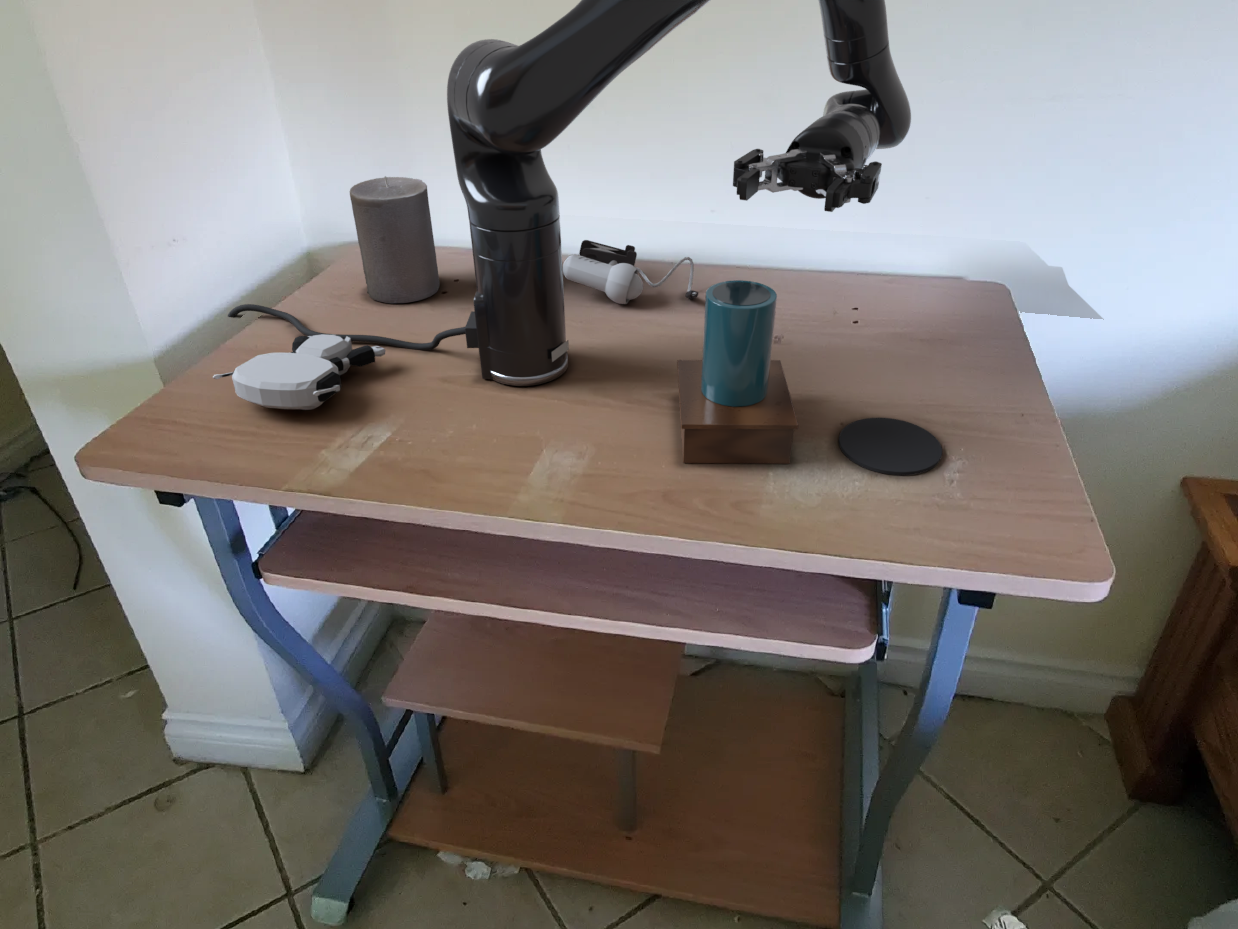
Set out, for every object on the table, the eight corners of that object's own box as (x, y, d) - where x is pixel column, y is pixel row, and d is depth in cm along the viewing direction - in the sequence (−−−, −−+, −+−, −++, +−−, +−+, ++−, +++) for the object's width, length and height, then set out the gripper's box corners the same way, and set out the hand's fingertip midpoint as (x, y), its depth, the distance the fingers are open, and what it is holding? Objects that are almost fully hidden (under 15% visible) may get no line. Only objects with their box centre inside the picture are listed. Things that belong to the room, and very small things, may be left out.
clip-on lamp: (701, 302, 118) (579, 263, 120) (714, 259, 115) (588, 219, 117) (684, 331, 108) (552, 287, 110) (698, 284, 105) (561, 240, 107)
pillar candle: (352, 293, 115) (329, 180, 106) (406, 270, 121) (388, 161, 113) (403, 310, 110) (383, 193, 102) (456, 285, 117) (442, 173, 108)
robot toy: (304, 357, 101) (216, 412, 89) (297, 321, 99) (206, 372, 87) (396, 372, 98) (318, 430, 86) (391, 334, 96) (310, 389, 84)
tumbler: (702, 407, 81) (707, 307, 75) (699, 374, 86) (703, 279, 80) (771, 407, 80) (781, 307, 75) (763, 374, 86) (772, 279, 80)
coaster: (849, 475, 79) (849, 471, 79) (830, 420, 87) (831, 417, 87) (954, 475, 79) (955, 472, 79) (926, 420, 87) (926, 417, 86)
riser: (680, 465, 81) (681, 424, 78) (676, 397, 91) (677, 359, 89) (793, 465, 80) (798, 424, 78) (776, 398, 91) (780, 360, 88)
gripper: (770, 111, 95) (717, 147, 83) (901, 123, 90) (865, 163, 78) (765, 180, 99) (714, 223, 87) (890, 195, 94) (853, 244, 82)
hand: (785, 195), depth 82 cm, fingers open, 8 cm apart
